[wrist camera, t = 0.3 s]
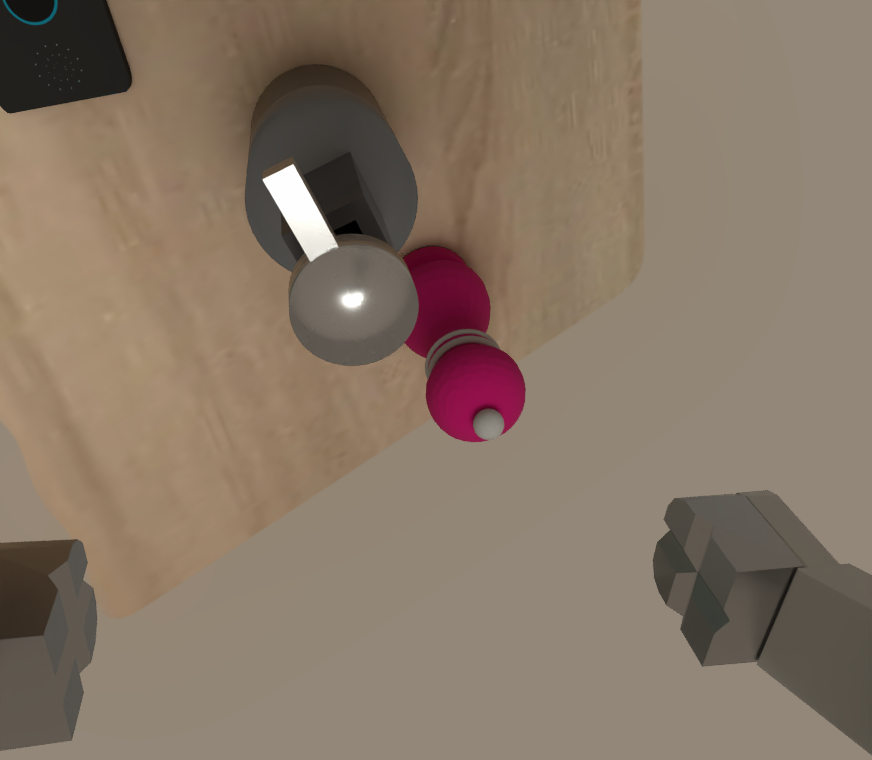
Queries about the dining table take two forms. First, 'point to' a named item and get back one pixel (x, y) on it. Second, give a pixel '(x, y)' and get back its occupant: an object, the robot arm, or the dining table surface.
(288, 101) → the dispenser
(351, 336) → the pump head
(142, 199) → the dining table surface
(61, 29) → the smart home device
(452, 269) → the pepper mill
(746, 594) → the robot arm
